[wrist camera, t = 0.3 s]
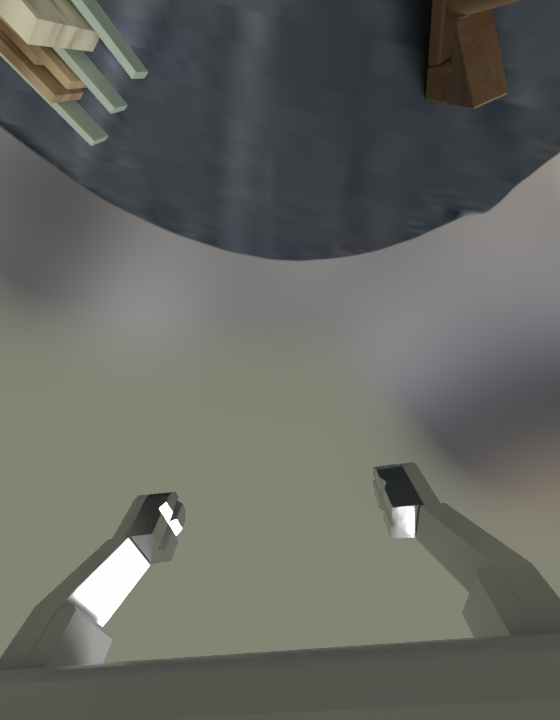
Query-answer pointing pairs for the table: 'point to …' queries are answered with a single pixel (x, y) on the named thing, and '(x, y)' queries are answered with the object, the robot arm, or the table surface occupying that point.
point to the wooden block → (464, 53)
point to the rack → (94, 73)
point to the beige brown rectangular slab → (49, 23)
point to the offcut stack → (40, 66)
